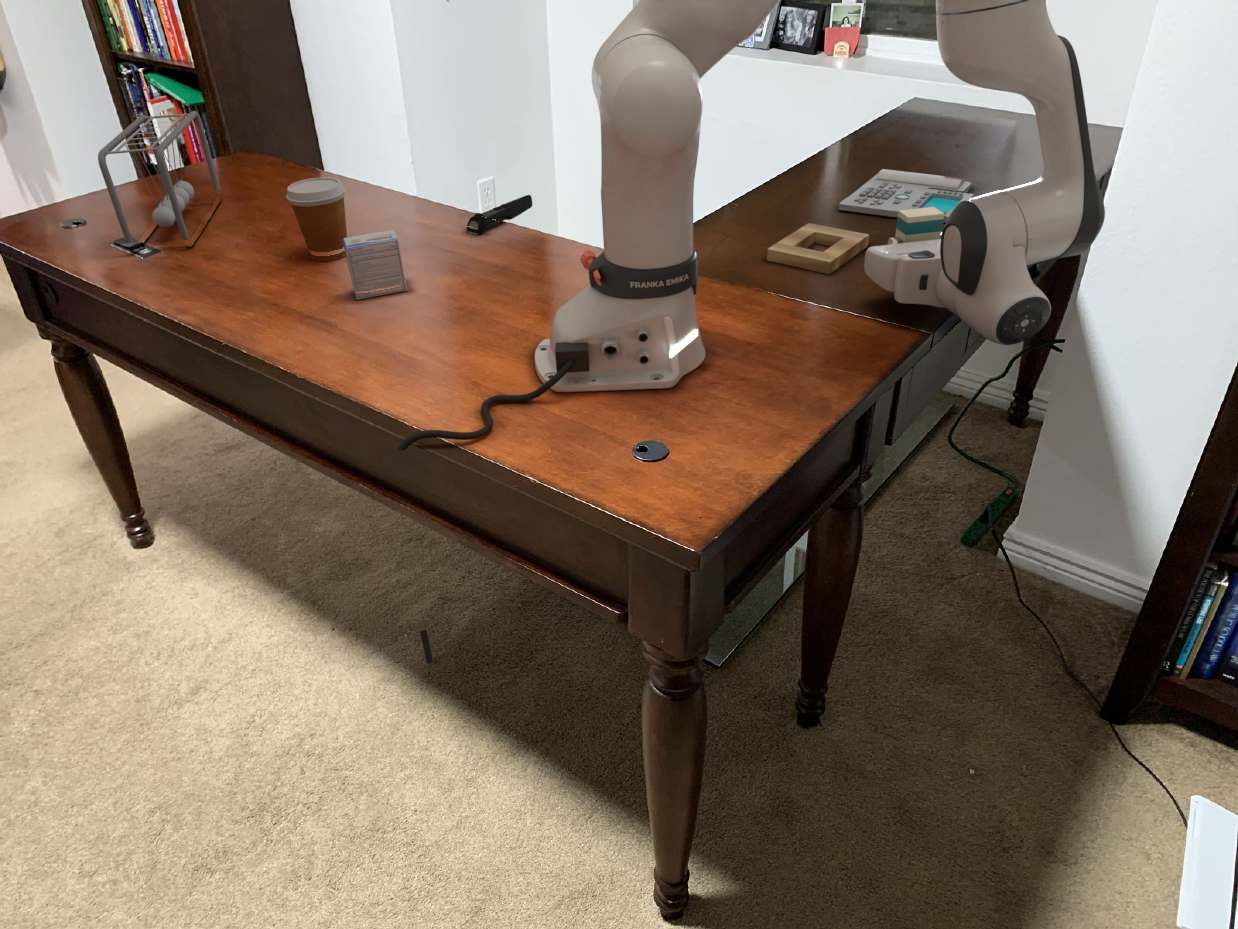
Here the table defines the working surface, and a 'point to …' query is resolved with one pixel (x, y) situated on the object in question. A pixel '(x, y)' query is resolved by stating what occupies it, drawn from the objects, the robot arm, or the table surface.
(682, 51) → the robot arm
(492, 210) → the electric trimmer
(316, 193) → the disposable coffee cup
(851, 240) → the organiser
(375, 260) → the medicine box
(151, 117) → the newton's cradle
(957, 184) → the office telephone
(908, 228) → the box
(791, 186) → the table surface
